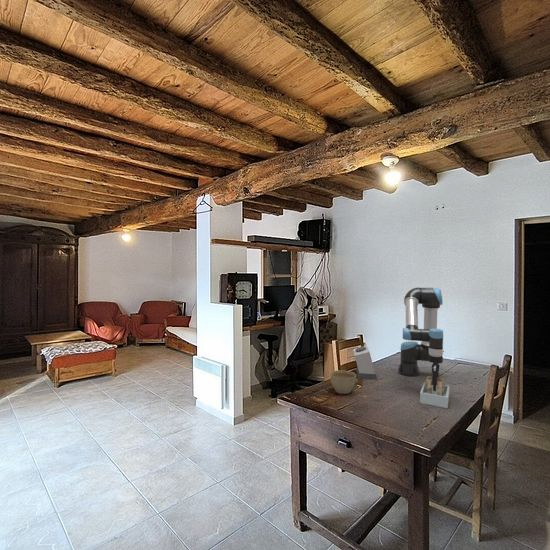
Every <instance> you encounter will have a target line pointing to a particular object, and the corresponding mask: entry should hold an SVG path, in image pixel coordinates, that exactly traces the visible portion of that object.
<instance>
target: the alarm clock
mask: <svg viewBox="0 0 550 550" xmlns="http://www.w3.org/2000/svg"><path fill="white" fill-rule="evenodd" d="M353 354H354V358H355V359H354V360H355V362H356V365H357V366H356V378H357V379H362V380H374V381H377V380H378V376H377V373H376V369H375V366H374V362H373V360H372V359H373V358H372V357H371V353H370V350H369V347H368V346H367V345H363V346H360V347H357V348H354V349H353Z"/></svg>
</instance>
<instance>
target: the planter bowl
mask: <svg viewBox="0 0 550 550" xmlns="http://www.w3.org/2000/svg"><path fill="white" fill-rule="evenodd" d="M329 378H330V382H331V383H330V384H332V386H333V388H334V390H335V392H336V393H338V394H344V395H345V394H346V395H347V394H350V393H351V392H352V390H353V388H354V386H355V384H356V378H357V373H355V372H353V371H348V370H339V369H338V370H333V371H331V372H330V373H329Z"/></svg>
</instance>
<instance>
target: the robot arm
mask: <svg viewBox="0 0 550 550" xmlns="http://www.w3.org/2000/svg"><path fill="white" fill-rule="evenodd" d="M403 304H404V306H405V327H402V339H403V340H405V341H404V342H402V343H401V344H400V348H399V350H400V362H399V365H398V369H397V373H398V374H399V375H402V376H406V377H419V376H420V375H421V372H420V368H419V366H418V361H422V362H429V363H432V364H431V373H432V374H431V376H432V383H431V385H432V394H434V395H437V377H439V373H440V364H442V363H443V362H444V357H443V356H444V354H443V353H444V352H445V350H444V330H443V329H440V328H438V310H439V309H440V308H441V306H442V305H443V295H442V290H441V289H440V288H438V287H414V288H412V289H409V290H408V291H407V293H405V296H404V298H403ZM418 305H421V307H422V309H424V310H423V328H419V314H418ZM418 342H420V344H419V343H418ZM439 378H440V377H439ZM433 382H434V383H433Z"/></svg>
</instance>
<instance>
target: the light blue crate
mask: <svg viewBox="0 0 550 550" xmlns="http://www.w3.org/2000/svg"><path fill="white" fill-rule="evenodd" d="M449 399H450V385H447V384H444V396H440V395H434V394H428V393H426V381H424V382H423V384H422V388H421V389H420V393H419V404H423V405H428V406H433V407H438V408H443V409H444V408H445V409H448V407H449Z"/></svg>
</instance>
